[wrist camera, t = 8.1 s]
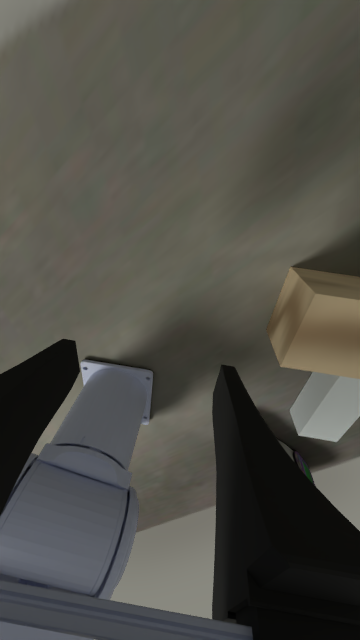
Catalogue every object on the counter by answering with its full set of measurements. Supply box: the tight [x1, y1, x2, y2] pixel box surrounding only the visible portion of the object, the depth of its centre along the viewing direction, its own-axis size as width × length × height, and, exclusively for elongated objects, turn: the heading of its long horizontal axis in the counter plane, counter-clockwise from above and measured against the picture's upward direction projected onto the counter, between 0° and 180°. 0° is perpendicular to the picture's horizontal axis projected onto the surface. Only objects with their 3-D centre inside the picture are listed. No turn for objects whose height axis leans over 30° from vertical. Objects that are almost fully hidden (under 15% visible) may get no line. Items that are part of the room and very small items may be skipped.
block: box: [266, 267, 360, 379], centre depth 17 cm, size 6×6×5 cm
